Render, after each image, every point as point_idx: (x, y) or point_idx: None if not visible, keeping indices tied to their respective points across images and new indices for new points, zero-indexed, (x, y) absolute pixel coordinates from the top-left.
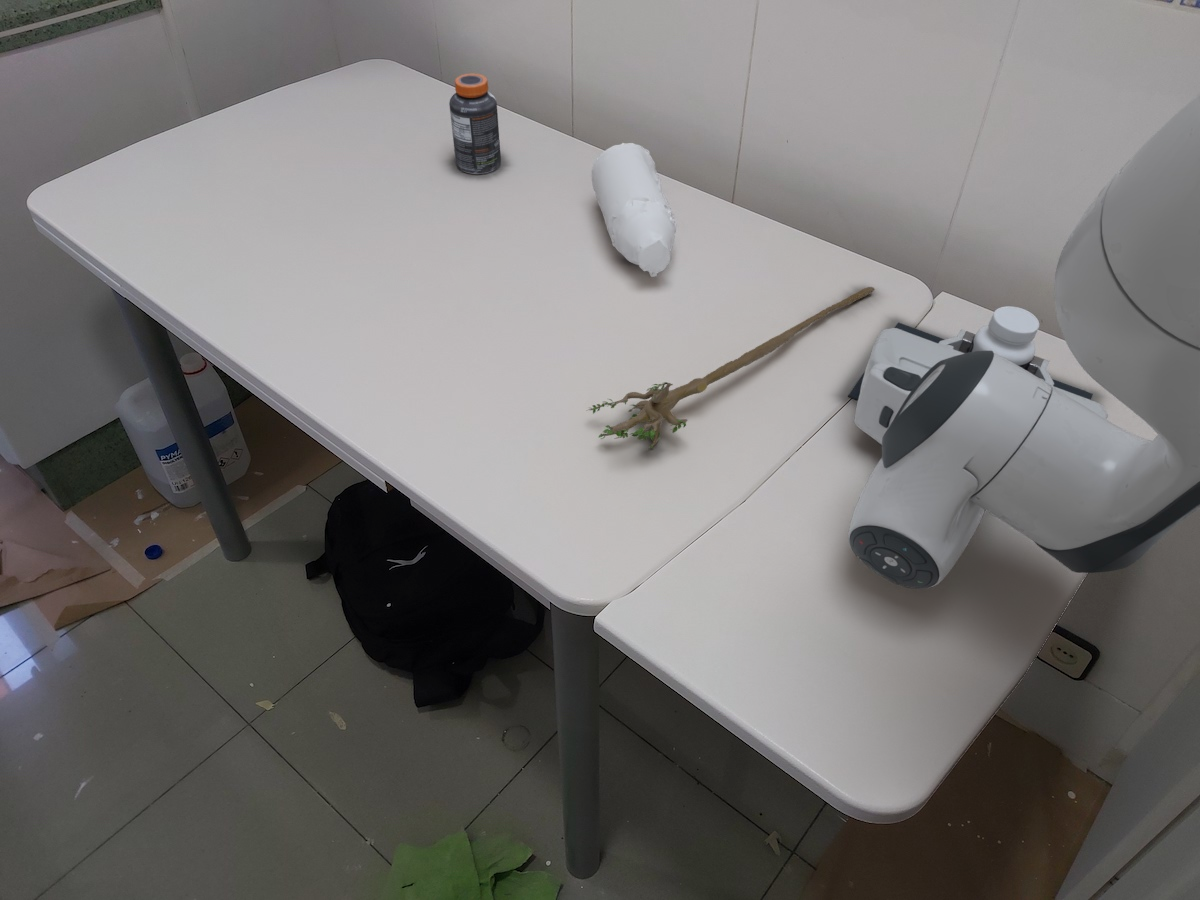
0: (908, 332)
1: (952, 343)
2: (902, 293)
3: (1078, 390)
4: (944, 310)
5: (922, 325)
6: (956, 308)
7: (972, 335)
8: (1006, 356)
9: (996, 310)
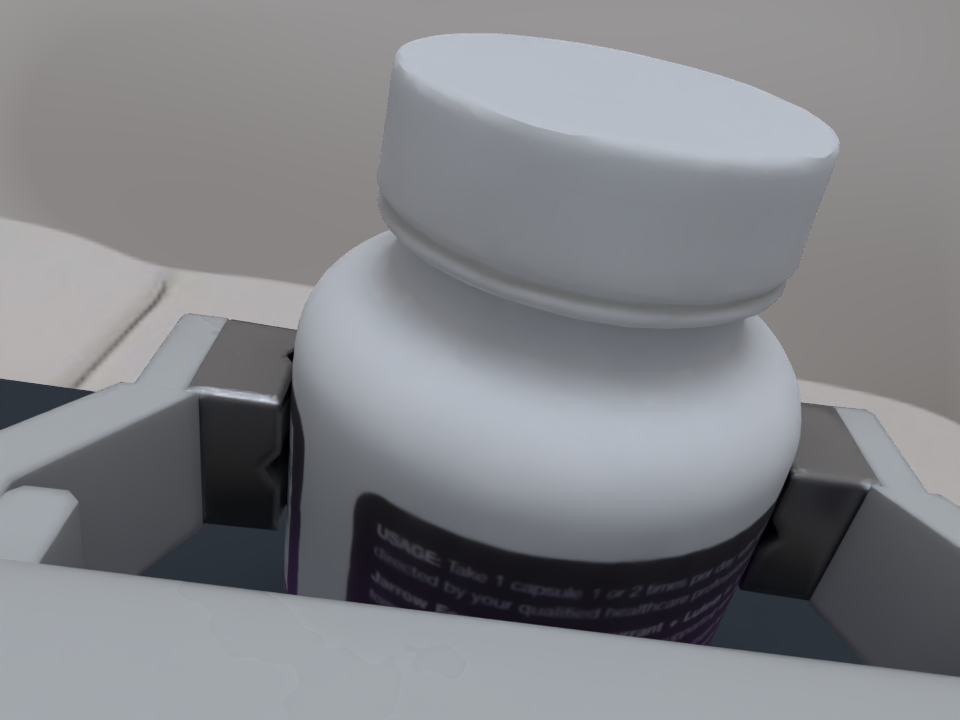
0: (29, 414)
1: (77, 458)
2: (40, 265)
3: None
4: (213, 297)
5: (114, 368)
6: (259, 284)
7: (281, 343)
8: (651, 473)
9: (410, 44)
